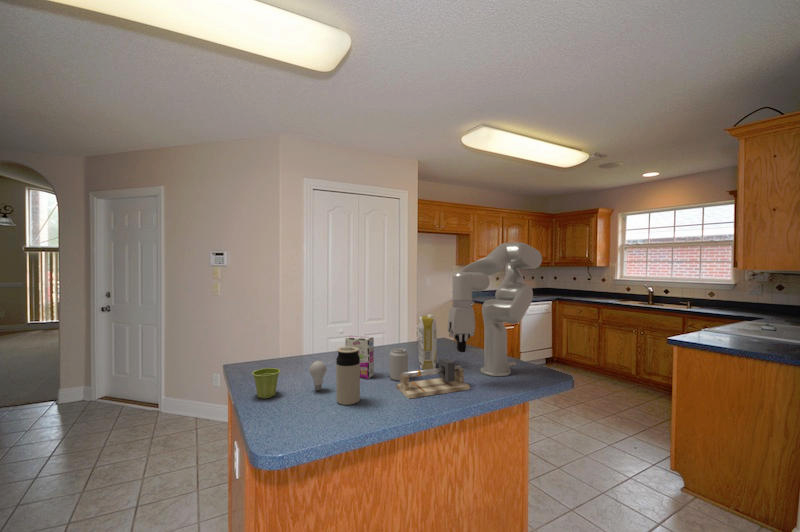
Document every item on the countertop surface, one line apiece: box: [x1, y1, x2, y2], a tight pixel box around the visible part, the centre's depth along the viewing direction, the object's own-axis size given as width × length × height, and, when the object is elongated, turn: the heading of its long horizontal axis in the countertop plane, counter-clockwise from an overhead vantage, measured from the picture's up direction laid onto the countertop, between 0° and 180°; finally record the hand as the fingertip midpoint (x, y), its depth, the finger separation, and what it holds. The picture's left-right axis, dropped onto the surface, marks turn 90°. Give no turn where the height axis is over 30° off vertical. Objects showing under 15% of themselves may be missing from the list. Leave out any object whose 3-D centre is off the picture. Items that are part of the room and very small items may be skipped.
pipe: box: [402, 364, 463, 378], centre depth 137 cm, size 24×2×2 cm, turn 112°
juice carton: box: [418, 314, 437, 370], centre depth 165 cm, size 9×8×24 cm
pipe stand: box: [395, 368, 471, 400], centre depth 137 cm, size 25×12×6 cm, turn 112°
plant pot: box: [251, 367, 281, 399], centre depth 130 cm, size 9×9×9 cm
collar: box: [438, 357, 456, 382], centre depth 139 cm, size 3×7×7 cm, turn 22°
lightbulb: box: [309, 360, 328, 392], centre depth 134 cm, size 6×6×11 cm
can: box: [389, 347, 409, 382], centre depth 149 cm, size 8×8×12 cm
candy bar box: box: [345, 335, 375, 380], centre depth 152 cm, size 11×5×16 cm, turn 68°
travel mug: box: [335, 346, 361, 406], centre depth 124 cm, size 8×8×18 cm
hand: (461, 351), depth 141 cm, fingers closed
